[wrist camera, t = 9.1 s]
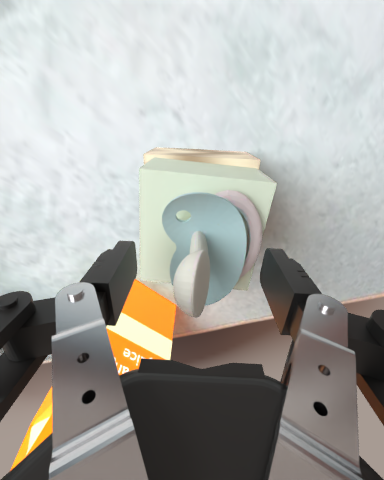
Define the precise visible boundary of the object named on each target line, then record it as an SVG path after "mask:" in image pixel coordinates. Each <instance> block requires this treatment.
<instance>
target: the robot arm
mask: <svg viewBox="0 0 384 480" xmlns="http://www.w3.org/2000/svg"><path fill="white" fill-rule="evenodd" d="M136 274H137V260H136V249H135V243H134V241H119V242H118V243H117V244H116V246H115V247H114V249H113V250H111V249H108V250H107V251H105V252H104V253H102V254H100V256H99V257H98V258H97V260H96V262H94V264H93V265H92V267H91V268H90V269H89V270H88V272H87V273H86V274H85V276H84V277H83V278H82V279H81V281H80V282H79V283H74V284H71V285H68V286H66V287H64V288H63V289H61V290H60V291H59V292H58V293H57V295H56V297H55V298H50V299H44V300H38V301H33V299H32V296H31V294H30V293H28V292H24V291H17V292H12V293H8V294H5V295H2V296H0V349H1V348H3V350H4V353H3V354H2V355H1V356H0V421H1V420H2V419H3V417H4V416H5V414H6V413H7V412H8V410H9V409H10V407H11V406H12V405H13V403H14V402H15V400H16V399H17V398H18V396H19V395H20V393H21V392H22V390H23V389H24V388H25V386H26V385H27V384H28V382H29V381H30V379H31V378H32V377H33V375H34V374H35V372H36V371H37V370H38V368H39V367H40V365H41V364H42V363H43V361H44V360H45V358H46V357H47V355H49V354H52V433H51V434H50V435H49V436H48V437H47V438H46V439H45V440H44V441H43V442H41V443H40V444H39V445H38V446H37V447H36V448H35V449H34V450H33V451H32V452H30V453H29V454H28V455H27V456H26V457H25V458H24V459H23V460H22V461H21V462H20V463H18V464H17V465H16V466H15V467H14V468H13V469H12V470H11V471H10V472H9V473H8V474H6V475H5V476H4V477H3V478H2V479H1V480H383V479H382V478H381V477H380V476H379V475H378V474H377V473H376V472H375V471H374V470H373V469H372V468H371V467H370V466H369V465H368V464H367V463H366V462H365V461H364V460H363V459H362V458H361V457H360V456H359V440H358V413H357V387H356V386H358V387H359V389H360V390H361V392H362V393H363V395H364V396H365V398H366V399H367V401H368V402H369V404H370V406H371V407H372V408H373V410H374V412H375V413H376V415H377V416H378V418H379V419H380V421H381V422H382V424H383V425H384V310H376V311H374V312H373V313H372V315H371V317H370V318H366V317H362V316H358V315H354V314H351V313H348V312H347V310H346V308H345V307H344V306H343V305H342V304H341V303H340V302H339V301H337V300H336V299H334V298H332V297H329V296H327V295H323V294H322V293H321V292H320V291H319V289H318V288H317V287H316V285H315V284H314V282H313V281H312V280H311V278H309V276H308V274H307V273H306V272H305V270H304V269H303V267H302V266H301V265H300V264H299V263H298V262H296V261H295V260H293V259H289V258H288V256H287V255H286V254H285V252H284V251H283V249H274V248H267V249H266V251H265V254H264V259H263V263H262V268H261V272H260V283H261V286H262V288H263V291H264V293H265V296H266V298H267V301H268V303H269V306H270V309H271V311H272V314H273V316H274V319H275V321H276V324H277V326H278V328H279V331H280V334H281V335H291V337H292V342H291V345H290V348H289V352H288V355H287V359H286V363H285V367H284V370H283V374H282V378H281V381H280V382H279V381H277V380H276V379H273V378H271V377H269V376H266V375H264V372H263V367H262V365H261V364H244V363H229V364H225V365H220V366H215V367H210V368H206V369H199V368H195V367H192V366H189V365H186V364H182V363H179V362H176V361H173V360H165V359H145V358H141V361H140V365H139V369H134V370H131V371H128V372H125V373H123V374H121V375H119V373H118V369H117V366H116V362H115V358H114V355H113V351H112V347H111V343H110V340H109V336H108V332H107V329H106V327H107V326H116V324H117V322H118V319H119V317H120V314H121V312H122V309H123V307H124V305H125V302H126V300H127V297H128V295H129V293H130V290H131V288H132V285H133V283H134V280H135V278H136Z"/></svg>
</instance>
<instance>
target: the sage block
mask: <svg viewBox="0 0 384 480" xmlns="http://www.w3.org/2000/svg"><path fill="white" fill-rule="evenodd" d="M276 186H277V183H276V182H275V181H273V180H272V179H271V178H269V177H268V176H267V175H265V174H264V173H262V172H261V171H260V170H258V169H257V168H249V167H239V166H230V165H221V164H212V163H203V162H194V161H184V160H175V159H166V158H157V157H154V158H153V159H151V160H150V161H148V162H147V163H146V164H144V165H143V166H142V167H140V168H139V218H140V280H142V281H152V282H162V283H172V282H171V278H170V263H171V259H172V257H173V254H174V252H175V251H176V244H175V243H174V242H173V241H172V240H171V239H170V238H169V237H168V235H167V234H166V232H165V230H164V227H163V224H162V214H163V211H164V209H165V208H166V206H167V205H168V203H169V202H170V201H171V200H173V199H174V198H176V197H177V196H180V195H183V194H187V193H192V192H203V193H210V194H214V195H215V194H216V193H218V192H221V191H225V190H233V191H238V192H240V193H242V194H244V195H246V196H247V197H248V198H249V199H250V200H251V201H252V203H253V204H254V205H255V207H256V209H257V211H258V213H259V216H260V220H261V225H262V236H263V233H264V229H265V226H266V222H267V218H268V215H269V211H270V208H271V204H272V200H273V197H274V193H275V189H276ZM238 212H239V213H240V215H241V217H242V219H243V222H244V225H245V230H246V238H247V242H248V228H247V224H246V220H245V218H244V216H243V215H242V214H241V212H240V211H239V210H238ZM176 216H177V218H178V219H180V220H187V219H189V218H190V217H191V214H190V213H189V212H188V211H185V210H182V211H179V212H177V213H176ZM254 265H255V263H254ZM254 265H253V266H252V268H251V269H250V270H249V271H248V272H247V273H246V274H245V275H244V276H242V277H241V278H239V279H238V281H237V283H236V285H235V286H234V288H233V289H236V290H246V291H248V287H249V283H250V280H251V276H252V273H253V269H254Z"/></svg>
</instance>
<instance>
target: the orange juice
mask: <svg viewBox="0 0 384 480" xmlns="http://www.w3.org/2000/svg"><path fill="white" fill-rule="evenodd" d="M175 312H176V305H175V304H174V303H172V302H171V301H169V300H167V299H166V298H164V297H163V296H161V295H159V294H158V293H156V292H155V291H153V290H151V289H150V288H148V287H147V286H145V285H143V284H142V283H140V282H139V281H137V280H134V283H133V285H132V288H131V290H130V293H129V295H128V297H127V300H126V302H125V305H124V307H123V309H122V312H121V314H120V317H119V319H118V322H117V324H116V326H107V327H106V329H107V332H108V336H109V340H110V343H111V347H112V351H113V355H114V358H115V362H116V366H117V369H118V373H119V375H121V374H123V373H125V372H128V371H131V370H134V369H139V365H140V361H141V358H145V359H165V360H170V356H171V348H172V336H173V328H174V320H175ZM51 433H52V387H51V389H50V391H49V393H48V394H47V396H46V398H45V400H44V401H43V403H42V405H41V407H40V409H39V410H38V412H37V414H36V416H35V417H34V419H33V421H32V423H31V425H30V427H29V430H28V432H27V434H26V437H25V439H24V441H23V443H22V446H21V448H20V450H19V452H18V455H17V457H16V459H15V461H14V464H13V466H12V468H11V470H12V469H13V468H14V467H15V466H16V465H17V464H18V463H20V462H21V461H22V460H23V459H24V458H25V457H26V456H27V455H28V454H29V453H30V452H32V451H33V450H34V449H35V448H36V447H37V446H38V445H39V444H40V443H41V442H43V441H44V440H45V439H46V438H47V437H48V436H49V435H50V434H51ZM11 470H10V471H11Z"/></svg>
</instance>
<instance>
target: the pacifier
mask: <svg viewBox="0 0 384 480" xmlns="http://www.w3.org/2000/svg"><path fill="white" fill-rule="evenodd" d="M182 210H185V211H188V212H189V213H190V214H191V217H190V218H189V219H187V220H180V219H178V218H177V216H176V213H177V212H179V211H182ZM238 210H239V211H240V212H241V214H242V215H243V216H244V218H245V220H246V224H247V228H248V242H247V238H246V230H245V225H244V222H243V219H242V217H241V215H240V213H239V212H238ZM162 224H163V227H164V230H165V232H166V234H167V235H168V237H169V238H170V239H171V240H172V241H173V242H174V243H175V244H176V251H175V252H174V254H173V257H172V259H171V263H170V278H171V282H172V285H173V292H174V297H175V300H176V302H177V304H178V306H179V307H180V309H181V310H182V311H183V312H184V313H186V314H187V315H189V316H191V317H195V318H197V317H199V316H200V315H201V313H202V311H203V309H204V306H205V305H210V304H213V303H215V302H217V301H219V300H221V299H222V298H224V297H225V296H226V295H227V294H229V293H230V292H231V290H232V289H233V288H234V286H235V285H236V283H237V281H238V279H239V278H241V277H242V276H244V275H245V274H246V273H247V272H248V271H249V270H250V269H251V268H252V266H253V265H254V263H255V262H256V260H257V257H258V254H259V252H260V248H261V242H262V225H261V220H260V216H259V213H258V211H257V209H256V207H255V205H254V204H253V203H252V201H251V200H250V199H249V198H248V197H247V196H246V195H244V194H242V193H240V192H238V191H233V190H225V191H221V192H218V193H216V194H215V195H214V194H210V193H203V192H192V193H187V194H183V195H180V196H177V197H176V198H174V199H173V200H171V201H170V202H169V203H168V205H167V206H166V208H165V209H164V211H163V214H162Z"/></svg>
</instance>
